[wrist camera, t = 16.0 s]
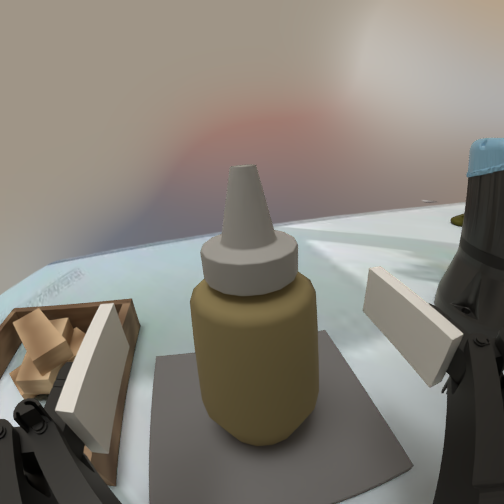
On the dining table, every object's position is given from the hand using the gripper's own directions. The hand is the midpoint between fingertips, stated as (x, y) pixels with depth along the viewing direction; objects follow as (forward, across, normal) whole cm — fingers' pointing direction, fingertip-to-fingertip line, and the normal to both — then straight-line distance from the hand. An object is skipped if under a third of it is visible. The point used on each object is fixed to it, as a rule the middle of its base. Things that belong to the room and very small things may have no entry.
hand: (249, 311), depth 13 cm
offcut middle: (+10, -22, -11) cm, 26 cm away
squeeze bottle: (+1, 0, -12) cm, 12 cm away
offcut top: (+10, -22, -9) cm, 26 cm away
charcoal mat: (+1, 0, -12) cm, 12 cm away
